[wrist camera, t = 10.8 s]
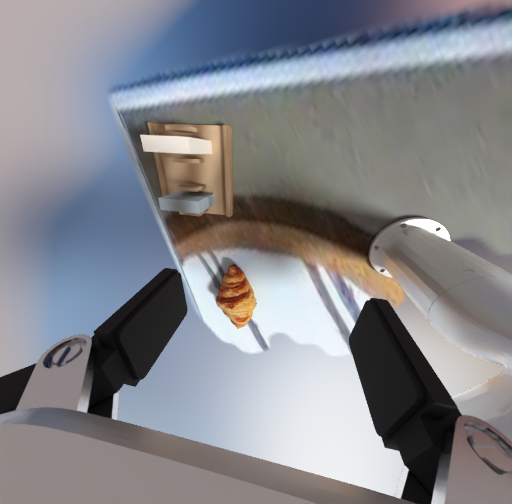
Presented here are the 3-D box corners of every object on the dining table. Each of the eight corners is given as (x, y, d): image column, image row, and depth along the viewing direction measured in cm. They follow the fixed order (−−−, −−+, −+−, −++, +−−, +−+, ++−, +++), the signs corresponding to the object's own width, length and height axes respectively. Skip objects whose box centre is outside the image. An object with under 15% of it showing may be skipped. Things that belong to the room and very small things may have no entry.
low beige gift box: (211, 140, 31) (187, 136, 24) (212, 154, 32) (189, 153, 25) (173, 139, 32) (140, 134, 25) (175, 152, 33) (143, 151, 26)
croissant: (253, 313, 55) (262, 335, 48) (220, 323, 53) (225, 347, 46) (248, 254, 45) (258, 271, 38) (207, 262, 42) (211, 282, 36)
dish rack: (231, 126, 30) (214, 118, 23) (233, 214, 37) (220, 227, 30) (155, 124, 32) (117, 115, 25) (171, 208, 39) (145, 219, 32)
